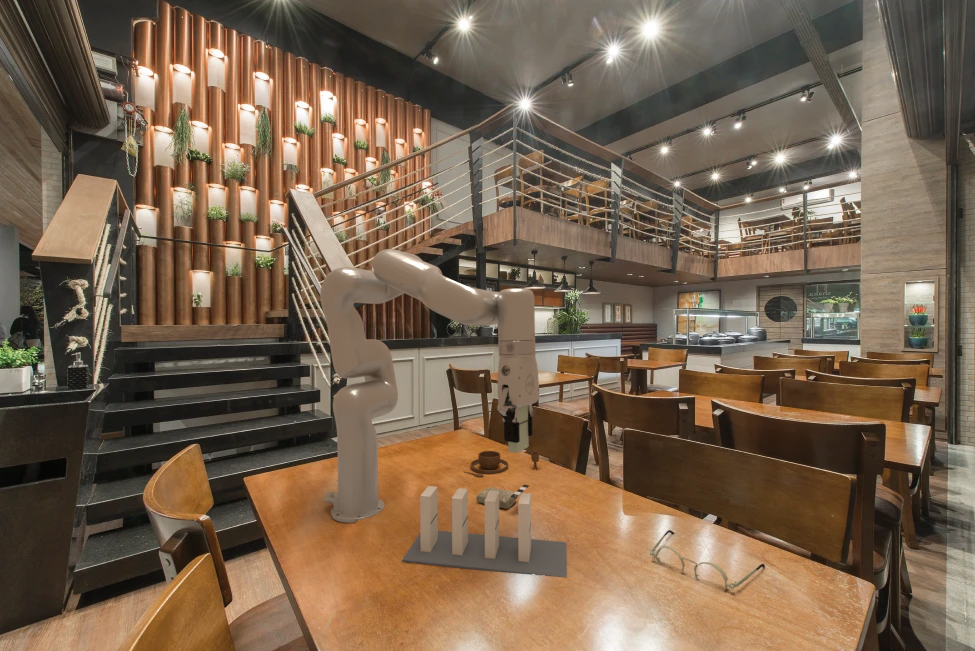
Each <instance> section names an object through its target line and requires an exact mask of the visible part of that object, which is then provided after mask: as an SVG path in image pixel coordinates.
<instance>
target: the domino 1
mask: <svg viewBox="0 0 975 651" xmlns="http://www.w3.org/2000/svg"><path fill="white" fill-rule="evenodd" d="M438 489H439V488H438V486H430V485H428V486H427V487H426V489H424V491H423V492H422V493H421V495H420V497H419V498H420V502H419V505H420V507H419V508H420V509H419V511H420V512H419V513H420V524H419V525H420V533H419V534H420V542H421V551H424V552H431V550H432V548H433V547H434V545H435V543H436V541H437V540H438V531H439V530H438V529H439V528H438V526H439V524H438V523H439V522H438V521H439V518H438V516H439V514H438V513H439V510H438V509H439V508H438V507H439V502H438V501H439V500H438V499H439V498H438V494H439V493H438V492H439V490H438Z"/></svg>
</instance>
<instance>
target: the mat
mask: <svg viewBox="0 0 975 651" xmlns="http://www.w3.org/2000/svg"><path fill="white" fill-rule="evenodd" d="M567 548H568V547H567V542H566V541H555V540H547V539H546V540H545V539H536V538H535V539H532V538H531V552H530V559H529V562H522V561H518V537H514V536H513V537H512V536H511V537H509V536H500V535H499V547H498V551H497V554H496V557H495V559H493V558H485V534H479V533H469V532H468V543H467V546H466V548H465V550H464V552H463V555H453V554H452V531H444V530H438V540H437V541H436V543H435V545H434V547H433V548H432V550H431V552H424V551H421V542H420V533H419V534H418V535H417V537H416V538H415V540H414V542H412V544H411V545H410V547H409V548H408V550H407V552H406V553H405V555H404V556H403V558H402V559H401V562H402V563H409V564H419V565H426V566H427V565H428V566H436V567H439V566H440V567H446V568H456V569H466V570H474V571H485V572H495V573H496V572H498V573H510V574H521V575H531V576H533V575H532V574H535V575H534V576H542V575H545V576H546V577H557V578H568V573H567V572H568V571H567V569H568V567H567V566H568V565H567V562H568V561H567V554H568V552H567ZM545 576H544V577H545Z"/></svg>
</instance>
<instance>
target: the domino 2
mask: <svg viewBox="0 0 975 651" xmlns="http://www.w3.org/2000/svg"><path fill="white" fill-rule="evenodd" d="M451 532H452V554H453V555H463V552H464V550H465V548H466V546H467V543H468V533H469V490H468V488H461V487H460V488H457V489H456V492H454V494H453V496H452V497H451Z"/></svg>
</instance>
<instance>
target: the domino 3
mask: <svg viewBox="0 0 975 651" xmlns="http://www.w3.org/2000/svg"><path fill="white" fill-rule="evenodd" d="M484 535H485V558H493V559H495V557H496V554H497V551H498V547H499V536H500V508H499V491H489V492H488V494H487V497H486V499H485V504H484Z"/></svg>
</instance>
